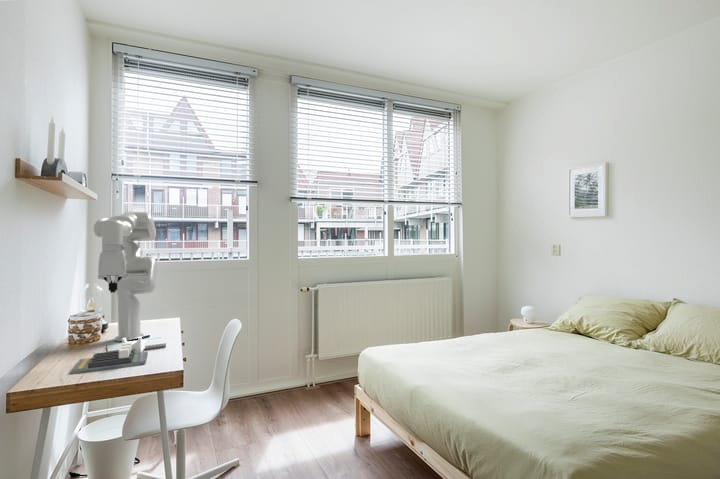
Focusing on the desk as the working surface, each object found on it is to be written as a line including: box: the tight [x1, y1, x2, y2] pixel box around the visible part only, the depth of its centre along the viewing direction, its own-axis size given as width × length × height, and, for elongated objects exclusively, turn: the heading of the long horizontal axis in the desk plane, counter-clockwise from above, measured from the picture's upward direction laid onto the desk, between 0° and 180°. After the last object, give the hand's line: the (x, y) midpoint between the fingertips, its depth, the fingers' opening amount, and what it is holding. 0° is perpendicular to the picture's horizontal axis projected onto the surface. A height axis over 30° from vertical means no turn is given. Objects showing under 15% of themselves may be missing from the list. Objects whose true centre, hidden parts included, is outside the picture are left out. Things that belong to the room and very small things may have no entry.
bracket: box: [121, 336, 148, 353], centre depth 174 cm, size 13×7×8 cm, turn 18°
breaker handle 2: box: [118, 348, 129, 359], centre depth 155 cm, size 3×3×5 cm
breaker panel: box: [71, 349, 149, 374], centre depth 157 cm, size 15×24×3 cm, turn 115°
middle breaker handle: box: [120, 345, 131, 354], centre depth 159 cm, size 3×3×5 cm
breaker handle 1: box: [121, 341, 132, 350], centre depth 164 cm, size 3×3×5 cm
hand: (113, 292), depth 168 cm, fingers closed
